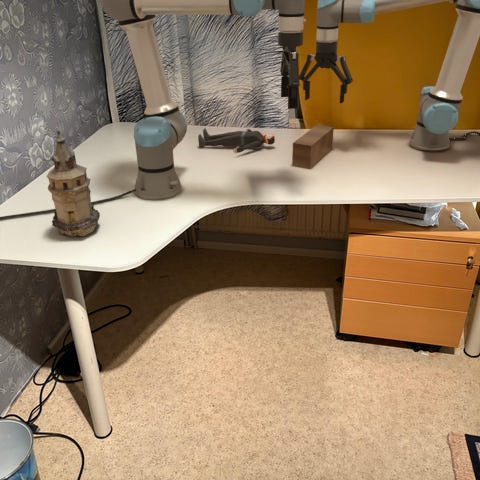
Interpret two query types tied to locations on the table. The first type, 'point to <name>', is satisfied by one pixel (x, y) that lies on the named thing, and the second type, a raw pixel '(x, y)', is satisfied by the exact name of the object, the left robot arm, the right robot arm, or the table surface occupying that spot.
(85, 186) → the miniature building
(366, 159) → the table surface
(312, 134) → the box
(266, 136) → the toy
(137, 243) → the table surface
